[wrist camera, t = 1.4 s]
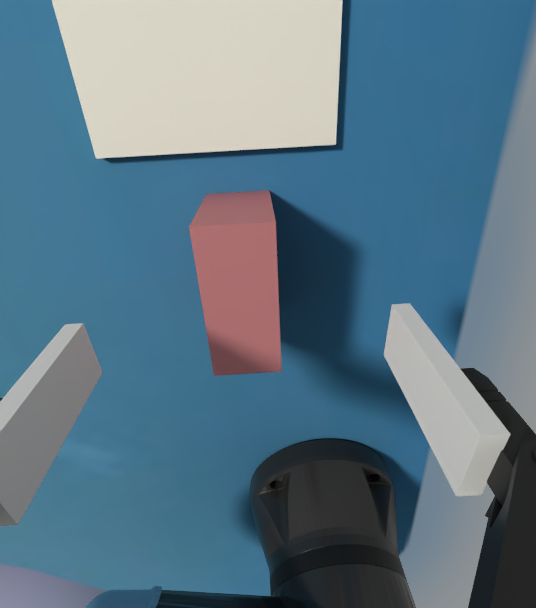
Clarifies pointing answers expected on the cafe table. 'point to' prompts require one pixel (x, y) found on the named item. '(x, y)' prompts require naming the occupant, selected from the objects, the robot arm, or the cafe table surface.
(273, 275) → the card deck box
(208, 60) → the serving mat
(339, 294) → the cafe table surface
